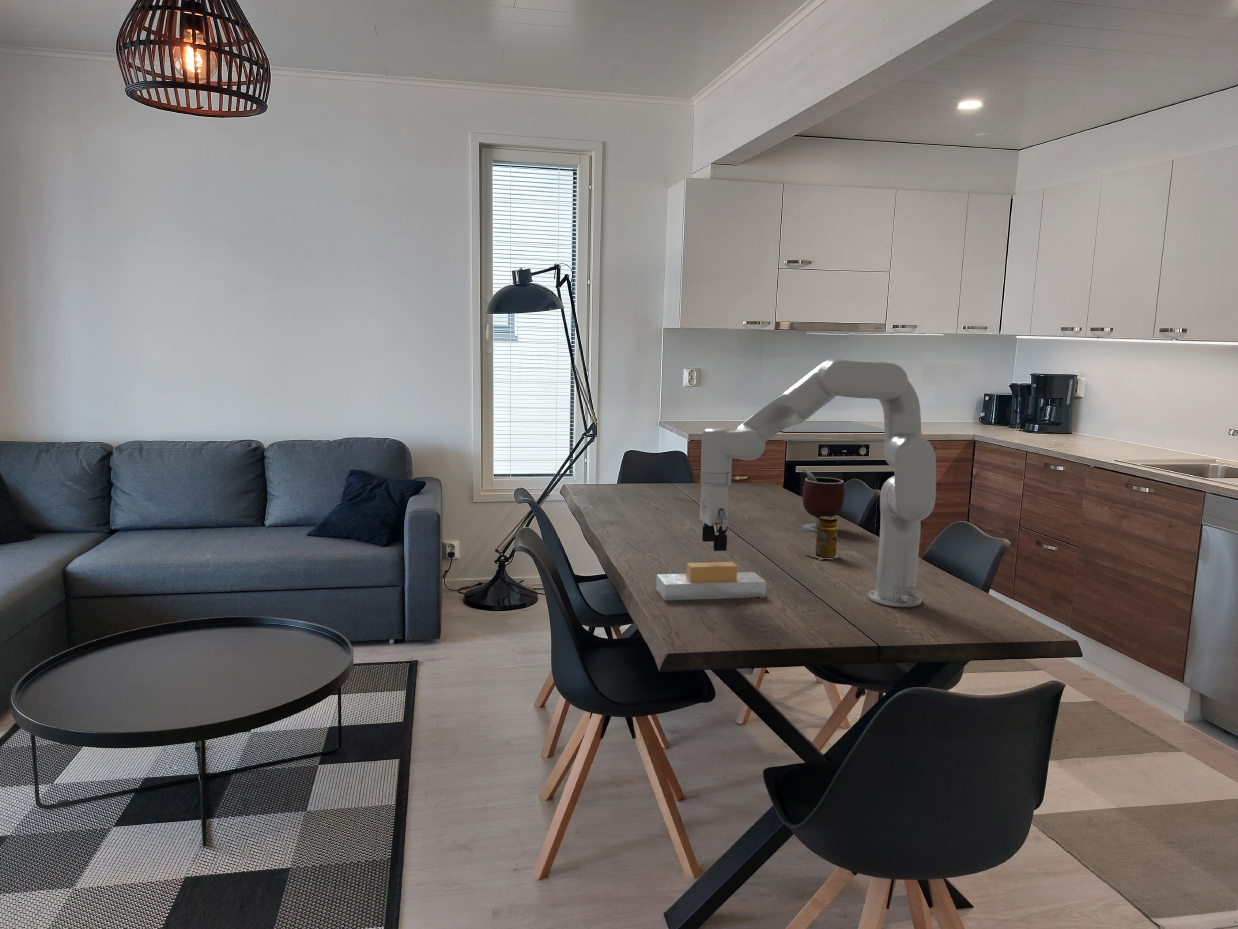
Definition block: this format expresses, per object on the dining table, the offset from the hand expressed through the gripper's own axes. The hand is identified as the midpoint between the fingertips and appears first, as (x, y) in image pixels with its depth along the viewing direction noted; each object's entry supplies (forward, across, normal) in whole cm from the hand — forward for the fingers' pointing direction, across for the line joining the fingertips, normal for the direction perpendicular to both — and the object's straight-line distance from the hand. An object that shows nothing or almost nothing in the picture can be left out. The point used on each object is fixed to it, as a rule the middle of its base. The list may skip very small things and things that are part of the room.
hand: (714, 545), depth 213 cm
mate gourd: (+13, -70, +59) cm, 93 cm away
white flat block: (+12, 0, -1) cm, 12 cm away
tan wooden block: (+12, 0, 0) cm, 12 cm away
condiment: (+13, -33, +44) cm, 57 cm away
